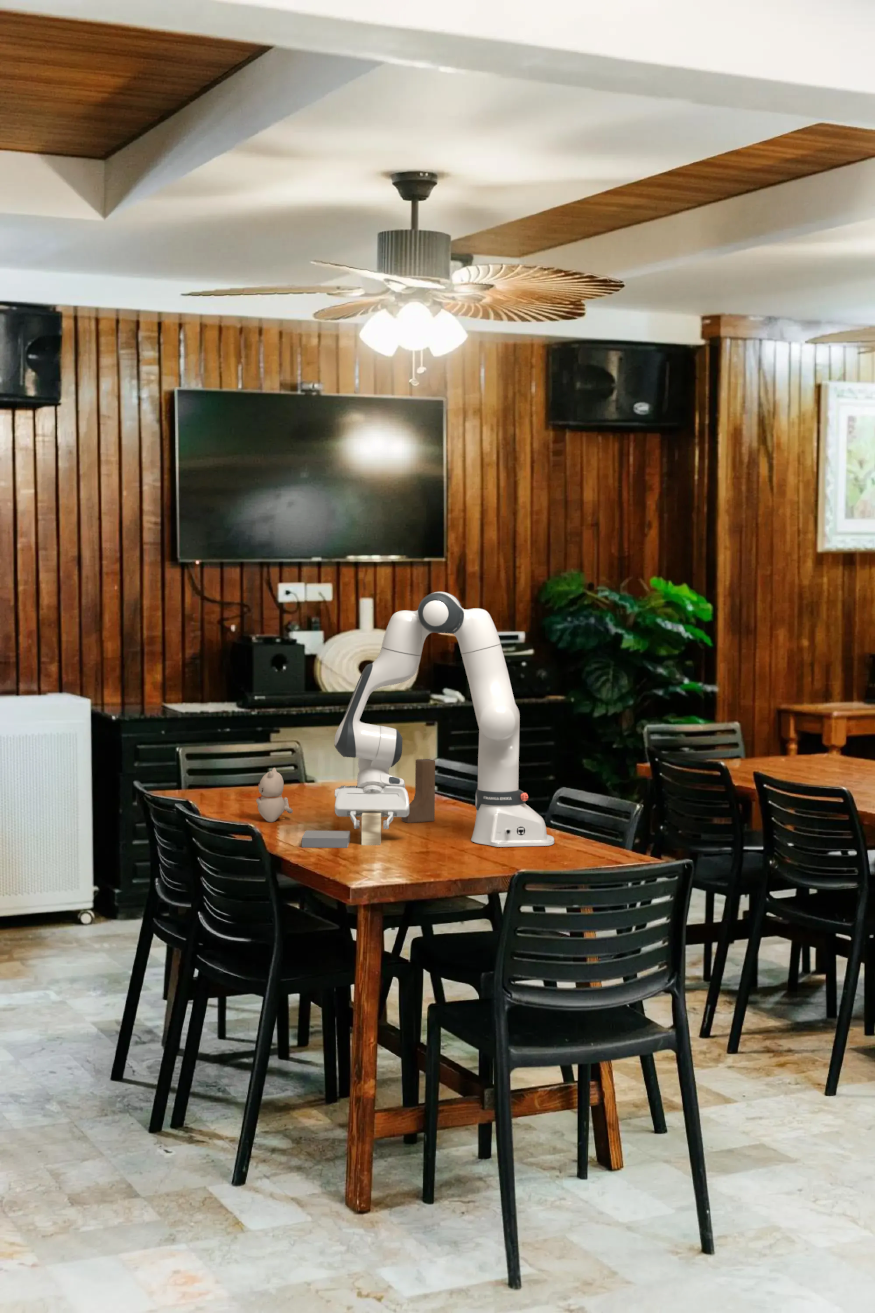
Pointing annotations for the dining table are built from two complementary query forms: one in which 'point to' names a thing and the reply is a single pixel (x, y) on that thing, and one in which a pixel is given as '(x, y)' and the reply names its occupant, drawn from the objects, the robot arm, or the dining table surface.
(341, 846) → the base slab
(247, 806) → the dining table surface
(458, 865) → the dining table surface
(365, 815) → the maple post
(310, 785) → the dining table surface
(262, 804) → the toy
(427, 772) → the wooden block
